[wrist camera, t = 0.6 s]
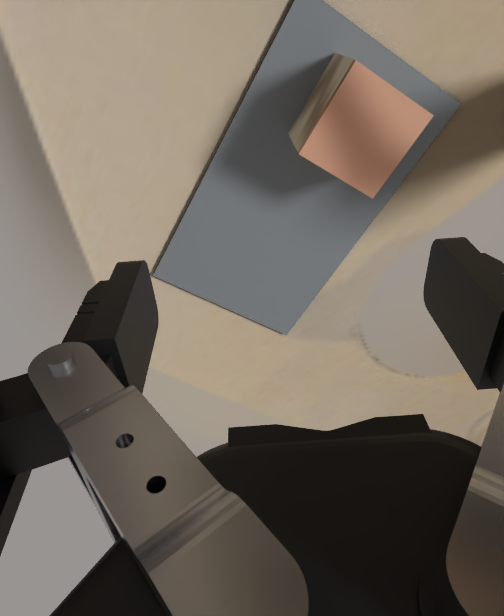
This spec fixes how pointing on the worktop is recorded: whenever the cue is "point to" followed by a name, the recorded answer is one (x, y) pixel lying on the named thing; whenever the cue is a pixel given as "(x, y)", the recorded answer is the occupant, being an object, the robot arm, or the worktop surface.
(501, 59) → the worktop surface
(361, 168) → the birch cube
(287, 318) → the slate mat
